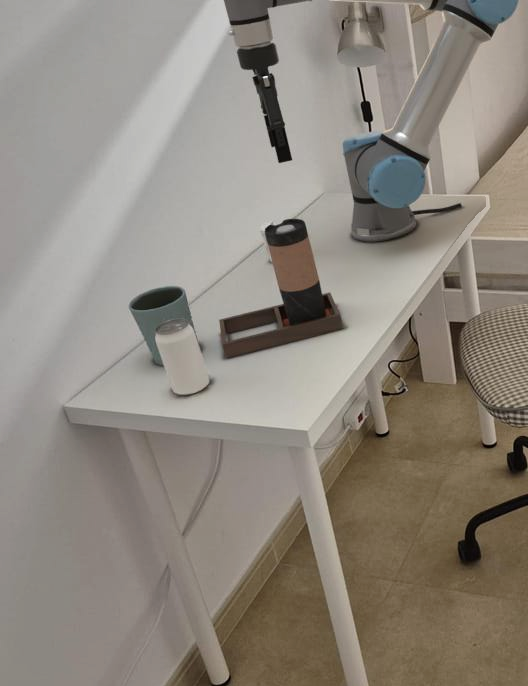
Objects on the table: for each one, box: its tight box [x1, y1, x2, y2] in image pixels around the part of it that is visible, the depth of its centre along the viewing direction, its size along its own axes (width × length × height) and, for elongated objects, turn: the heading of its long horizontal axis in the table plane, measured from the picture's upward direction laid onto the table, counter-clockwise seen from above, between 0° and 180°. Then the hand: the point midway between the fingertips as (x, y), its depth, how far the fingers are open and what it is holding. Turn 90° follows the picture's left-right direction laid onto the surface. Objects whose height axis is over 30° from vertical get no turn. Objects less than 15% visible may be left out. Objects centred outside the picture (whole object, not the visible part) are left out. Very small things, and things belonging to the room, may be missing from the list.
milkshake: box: [258, 220, 279, 263], centre depth 197 cm, size 5×5×10 cm
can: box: [155, 318, 210, 396], centre depth 149 cm, size 6×6×12 cm
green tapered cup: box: [128, 285, 201, 367], centre depth 161 cm, size 10×10×12 cm
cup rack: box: [218, 291, 344, 359], centre depth 166 cm, size 11×22×3 cm, turn 107°
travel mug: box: [265, 218, 327, 326], centre depth 163 cm, size 8×8×20 cm
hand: (281, 153), depth 177 cm, fingers open, 13 cm apart
